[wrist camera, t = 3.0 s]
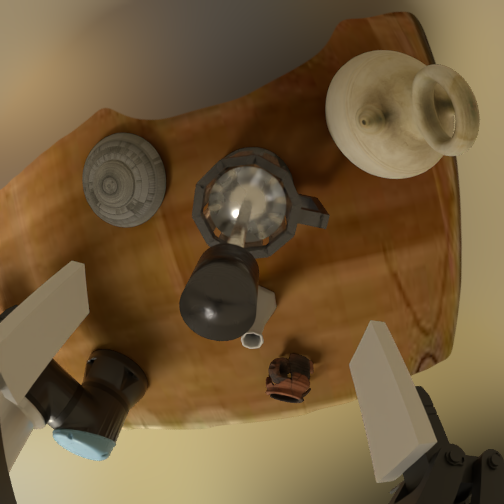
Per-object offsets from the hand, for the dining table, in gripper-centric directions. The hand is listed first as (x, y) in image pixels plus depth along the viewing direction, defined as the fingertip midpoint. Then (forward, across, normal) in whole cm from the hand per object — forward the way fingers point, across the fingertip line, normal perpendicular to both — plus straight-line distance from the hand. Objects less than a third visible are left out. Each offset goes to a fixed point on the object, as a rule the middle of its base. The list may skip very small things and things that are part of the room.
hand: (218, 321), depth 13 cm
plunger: (+22, 0, 0) cm, 22 cm away
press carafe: (+33, +1, 0) cm, 33 cm away
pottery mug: (+33, +12, -33) cm, 48 cm away
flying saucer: (+33, -20, -2) cm, 39 cm away
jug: (+33, +14, +14) cm, 38 cm away
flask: (+33, +4, -19) cm, 38 cm away
